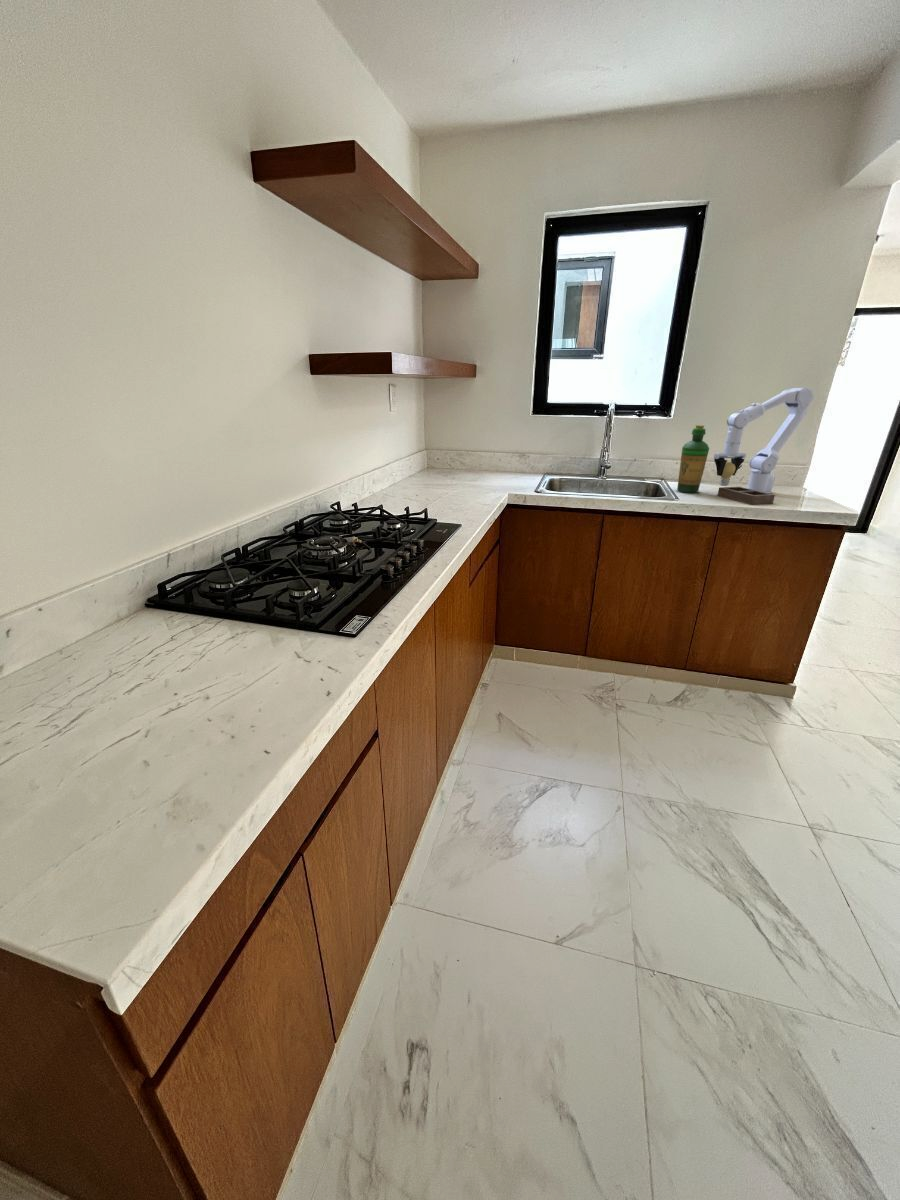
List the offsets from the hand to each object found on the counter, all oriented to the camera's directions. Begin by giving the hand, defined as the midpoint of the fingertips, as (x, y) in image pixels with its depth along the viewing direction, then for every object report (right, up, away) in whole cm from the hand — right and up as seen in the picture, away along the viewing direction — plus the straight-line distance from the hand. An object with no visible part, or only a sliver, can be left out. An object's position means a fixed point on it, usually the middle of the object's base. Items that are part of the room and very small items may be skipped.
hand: (725, 475), depth 218 cm
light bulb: (0, -4, +2) cm, 5 cm away
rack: (+2, -13, -11) cm, 17 cm away
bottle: (-15, -6, +5) cm, 17 cm away
